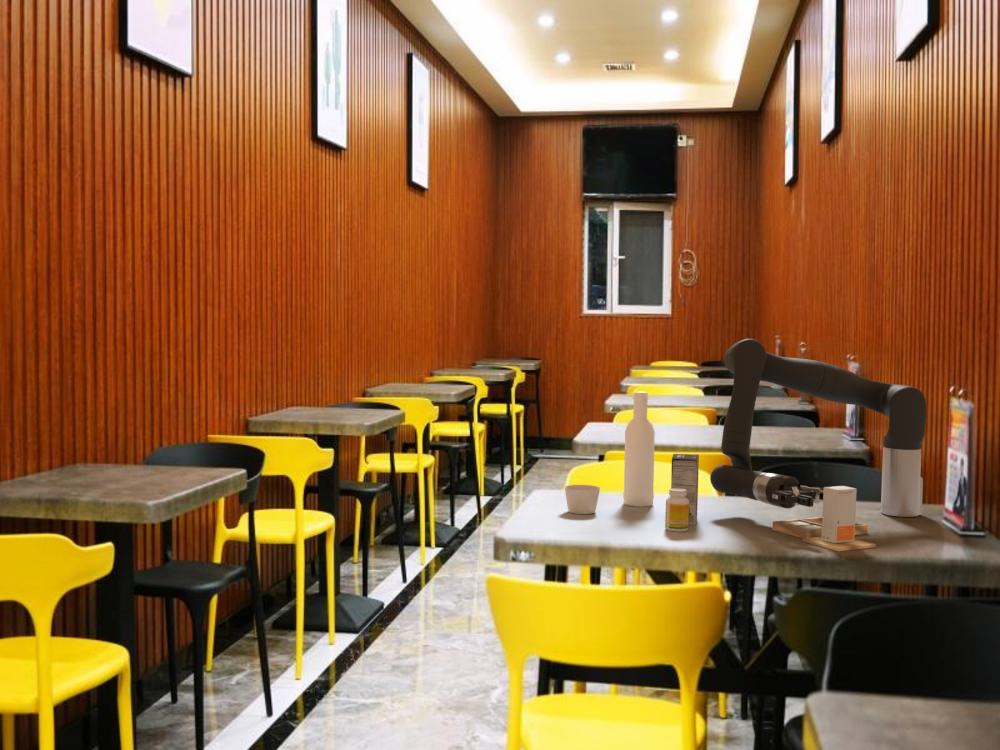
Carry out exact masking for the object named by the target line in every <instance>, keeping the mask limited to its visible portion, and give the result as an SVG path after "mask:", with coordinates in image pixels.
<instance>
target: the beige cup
mask: <svg viewBox="0 0 1000 750" xmlns="http://www.w3.org/2000/svg"><path fill="white" fill-rule="evenodd" d="M564 492H565V500H566V504H567V505H566V506H567V511H568V512H569V513H571V514H575V515H592V514H594V513H596V512H597V506H598V500H599V495H600V492H601V488H600V486H597V485H591V484H569V485H566V486H564Z"/></svg>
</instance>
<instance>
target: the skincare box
mask: <svg viewBox="0 0 1000 750" xmlns="http://www.w3.org/2000/svg"><path fill="white" fill-rule="evenodd" d="M823 488H824V490H823V502H822V514H821V517H822V537H821V540H823V541H827V542H831V543H834V544H835V543H845V542H854V539H855V536H856V535H855V522H856V512H857V511H856V509H857V506H856V505H857V490H858V489H857V488H855V487H851V486H847V485H835V486H824V487H823Z"/></svg>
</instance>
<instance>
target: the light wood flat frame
mask: <svg viewBox="0 0 1000 750" xmlns="http://www.w3.org/2000/svg"><path fill="white" fill-rule="evenodd" d="M868 530H869V525H868V524H864V523H861V522H856V521H855V535H854V536H857V535H867V534H868V532H869V531H868ZM772 531H775V532H778V533H781V534H786V535H790V536H793V537H797V538H799V539H804V538H813V537H822V516H815V517H808V518H807V517H806V518H797V519H786V520H785V519H784V520H773V521H772Z"/></svg>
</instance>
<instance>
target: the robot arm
mask: <svg viewBox="0 0 1000 750" xmlns="http://www.w3.org/2000/svg"><path fill="white" fill-rule="evenodd" d="M723 361H724V365H725V367H726V369H727V370H728V371H729V372H730V374H732V375H733V384H732V392H731V398H730V402H729V405H728V408H727V411H726V415H725V418H724V422H723V428H722V429H723V430H722V438H721V444H720V445H721V446H720V450H721V453H722V454H723V455H725V456H726V457H729V458H730V460H731V461H730V462H731V465H727V464H721V465H720V464H719V465H717V466H716V467H714V469H712V471H711V473H710V476H709V480H710V484H711V486H712V487H713V489H714V490H716V491H717V492H718V493H723V494H729V495H735V496H741V497H745V498H747V499H750V500H753V501H758V502H762V503H763V504H766V505H771V506H774V507H778V508H783V509H788V510H789V509H791V508H794V507H796V506H799V505H800V506H803V507H808V508H813V506H814V504H819V503H821V502H822V503H823V490H824V487H818V486H813V487H811V486H810V487H809V486H807V485H801V483H800V482H799V480H798V479H797V478H796V477H793V476H789V475H784V474H778V473H774V472H772V473H771V472H763V471H758V470H753V469H752V462H751V461H752V460H751V454H750V448H751V440H752V439H751V438H752V431H753V430H752V429H753V421H754V416H755V415H754V413H755V407H756V401H757V395H758V391H759V387H760V382H761V381H762V382H767V383H772V384H775V385H779V386H781V387H783V388H786V389H788V390H792V391H795V392H798V393H801V394H804V395H807V396H808V397H809V396H810V397H814V398H815V399H821V400H824V401H828V402H833V403H837V404H845V405H853V406H858V407H863V408H864V409H868V410H871V411H874V412H875V413H878V414H880V415H883V416H886V417H888V429H887V432H886V434H885V435H884V436H883V440H882V441H883V442H882V465H881V466H882V467H881V468H882V469H881V471H882V472H881V494H880V496H881V497H880V501H881V502H880V513H881V514H883V515H886V516H892V517H901V518H905V517H906V518H913V517H918V516H920V515H922V513H923V492H924V491H923V488H924V485H923V484H924V478H923V477H922V476H921V470H922V469H921V468H922V444H923V441H924V438H925V435H926V434H925V433H926V423H927V412H928V411H927V407H928V406H927V399H926V396H925V394H924V393H923V391H921V390H920V389H918V388H917V387H914V386H912V385H911V386H910V385H903V384H895V383H894V384H893V383H888V382H883V381H877V380H873V379H868V378H866V377H864V376H861V375H859V374H858V373H855V372H853V371H851V370H848V369H845V368H843V367H840V366H838V365H835V364H830V363H827V362H823V361H820V360H815V359H807V358H798V357H797V358H796V357H786V356H781V355H776V354H773V353H770V352H767V350H766V348H765V346H764V345H763V344H762V342H760V341H759V340H757V339H754V338H745V339H741V340H739V341H737V342H735V343H734V344H732V345H730V347H729V348H728V349H726V352H725V353H724V358H723Z"/></svg>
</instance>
